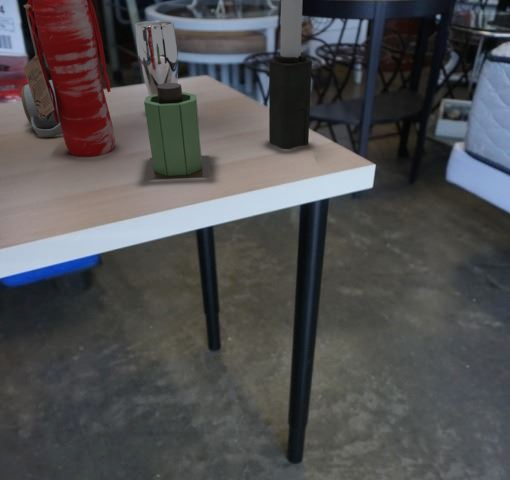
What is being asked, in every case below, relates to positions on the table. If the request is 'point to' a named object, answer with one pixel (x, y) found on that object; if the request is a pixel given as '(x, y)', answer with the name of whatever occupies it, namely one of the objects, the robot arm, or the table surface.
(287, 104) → the candle
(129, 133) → the table surface
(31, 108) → the ceramic mug
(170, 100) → the walnut peg
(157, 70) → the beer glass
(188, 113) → the green ring
